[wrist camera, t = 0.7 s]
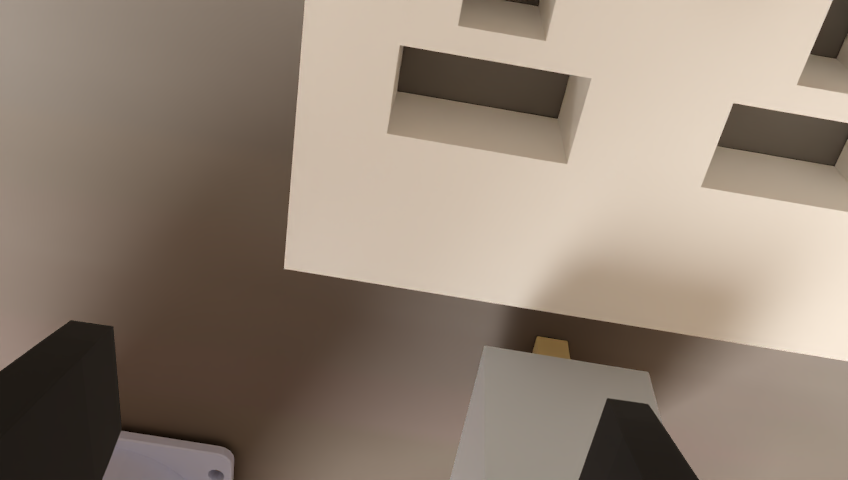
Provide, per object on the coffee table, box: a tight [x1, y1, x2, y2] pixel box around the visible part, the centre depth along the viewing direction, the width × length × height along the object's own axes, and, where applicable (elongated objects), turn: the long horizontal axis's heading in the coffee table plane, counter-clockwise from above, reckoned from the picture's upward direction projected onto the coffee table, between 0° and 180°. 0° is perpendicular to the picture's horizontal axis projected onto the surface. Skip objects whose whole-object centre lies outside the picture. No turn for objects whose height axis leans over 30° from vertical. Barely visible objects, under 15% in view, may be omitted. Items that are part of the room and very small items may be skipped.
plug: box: [450, 336, 663, 480], centre depth 21 cm, size 6×4×7 cm
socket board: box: [284, 0, 848, 361], centre depth 17 cm, size 12×15×3 cm
